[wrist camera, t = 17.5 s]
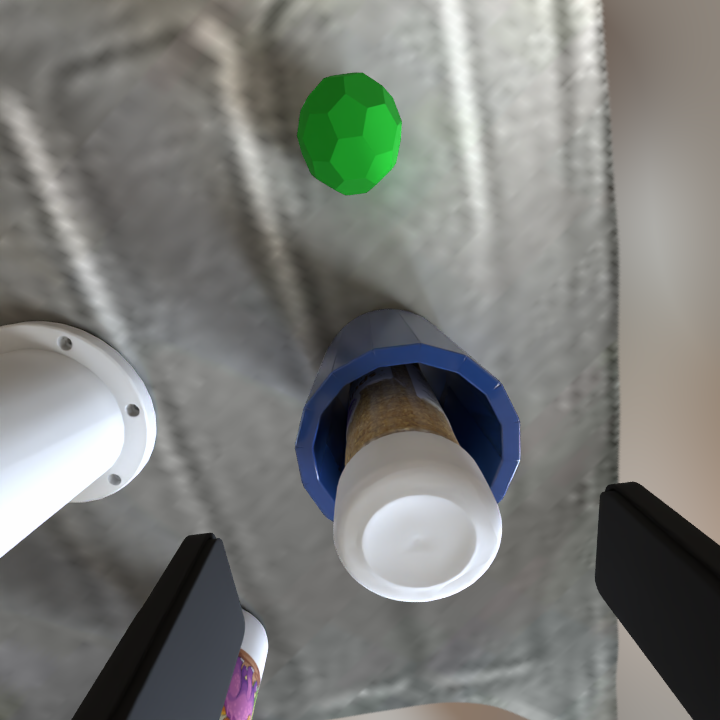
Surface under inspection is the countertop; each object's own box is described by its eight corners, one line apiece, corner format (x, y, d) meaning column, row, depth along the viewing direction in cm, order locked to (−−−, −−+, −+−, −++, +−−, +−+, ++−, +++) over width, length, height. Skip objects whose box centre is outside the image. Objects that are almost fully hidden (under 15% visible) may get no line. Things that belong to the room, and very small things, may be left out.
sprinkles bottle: (347, 344, 21) (324, 469, 8) (421, 340, 21) (514, 461, 8) (351, 413, 23) (337, 614, 10) (422, 410, 23) (503, 608, 10)
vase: (334, 438, 24) (315, 555, 14) (314, 317, 22) (276, 361, 12) (456, 424, 24) (521, 534, 14) (449, 300, 21) (520, 330, 12)
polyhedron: (291, 171, 20) (269, 143, 15) (332, 81, 18) (322, 20, 14) (368, 218, 20) (370, 204, 16) (413, 133, 19) (429, 92, 14)
